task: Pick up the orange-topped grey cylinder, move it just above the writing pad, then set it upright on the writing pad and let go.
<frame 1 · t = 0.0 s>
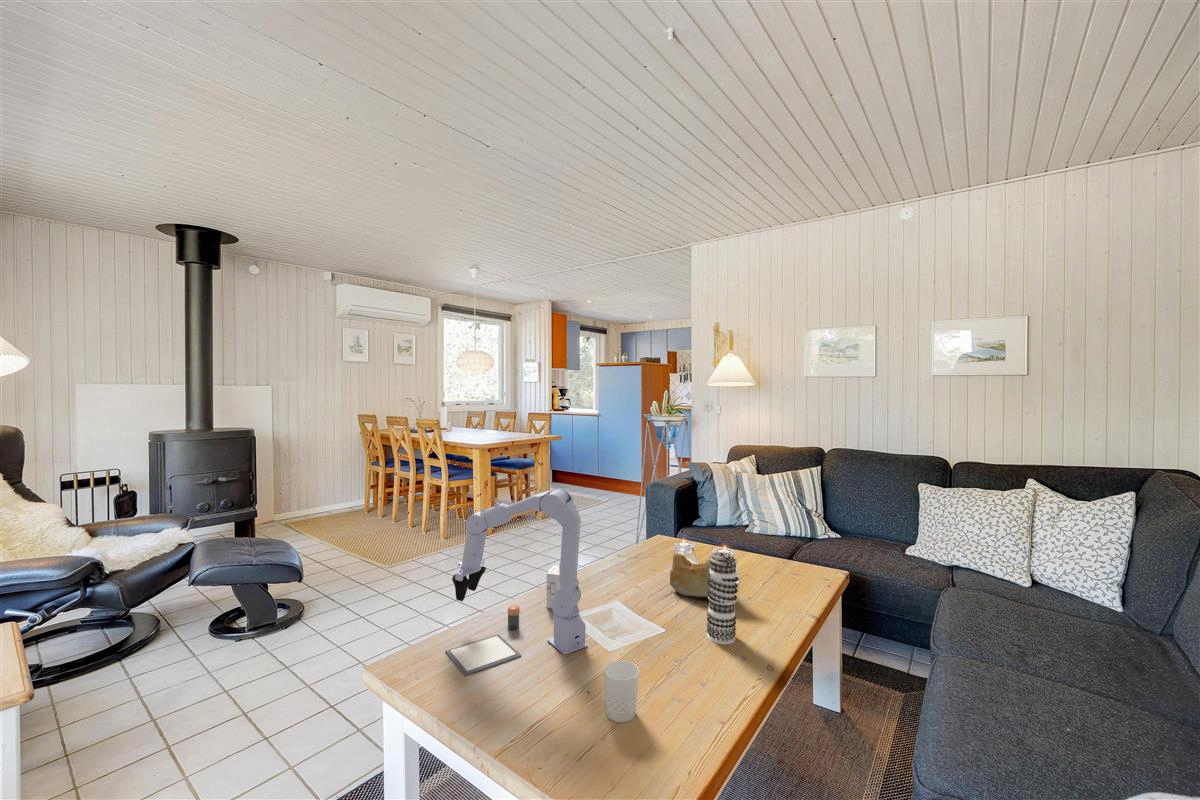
hand: (465, 594, 149), 11 cm above the table, tool pointing down, fingers open, 7 cm apart
rough brown rock: (705, 594, 180), on the table
white cup: (620, 713, 112), on the table
ink cartridge box: (556, 603, 169), on the table
decorative candle: (721, 637, 148), on the table
writing pad: (483, 654, 135), on the table
orange-topped grey cylinder: (513, 627, 151), on the table
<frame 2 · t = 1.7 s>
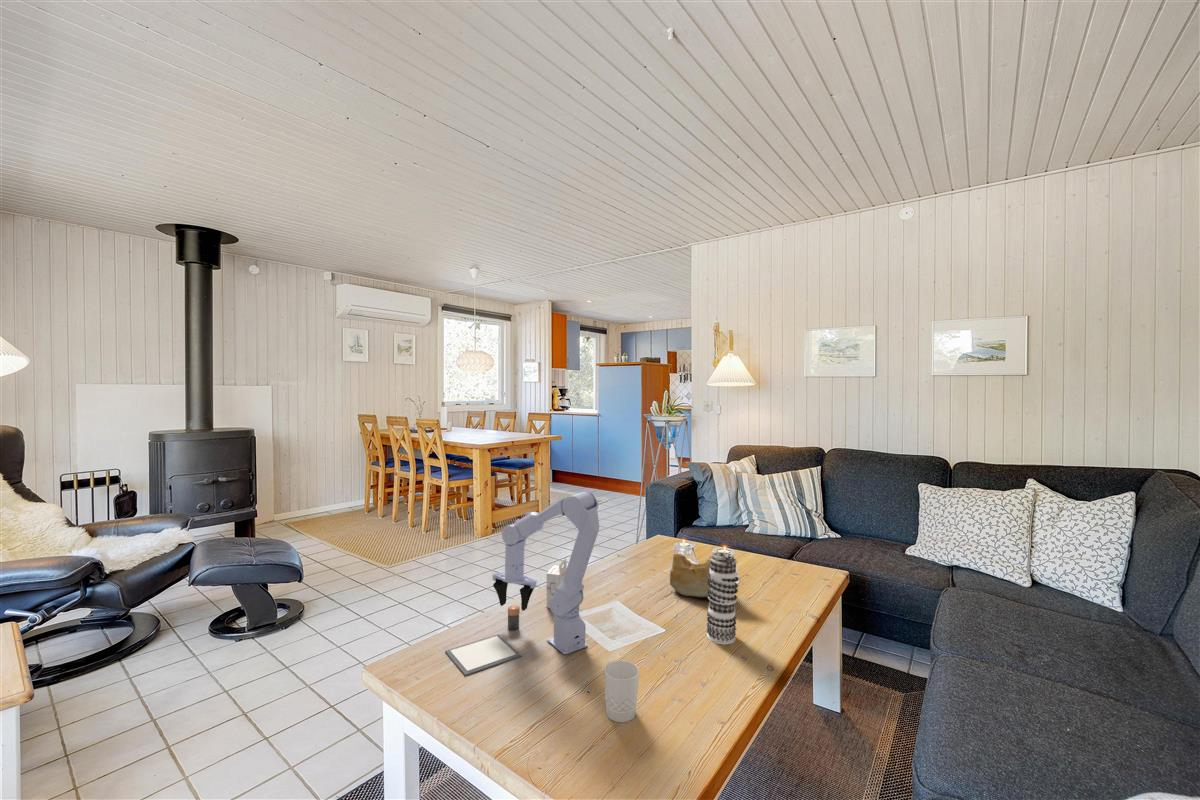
hand: (513, 606, 151), 6 cm above the table, tool pointing down, fingers open, 7 cm apart
nothing on the table moved.
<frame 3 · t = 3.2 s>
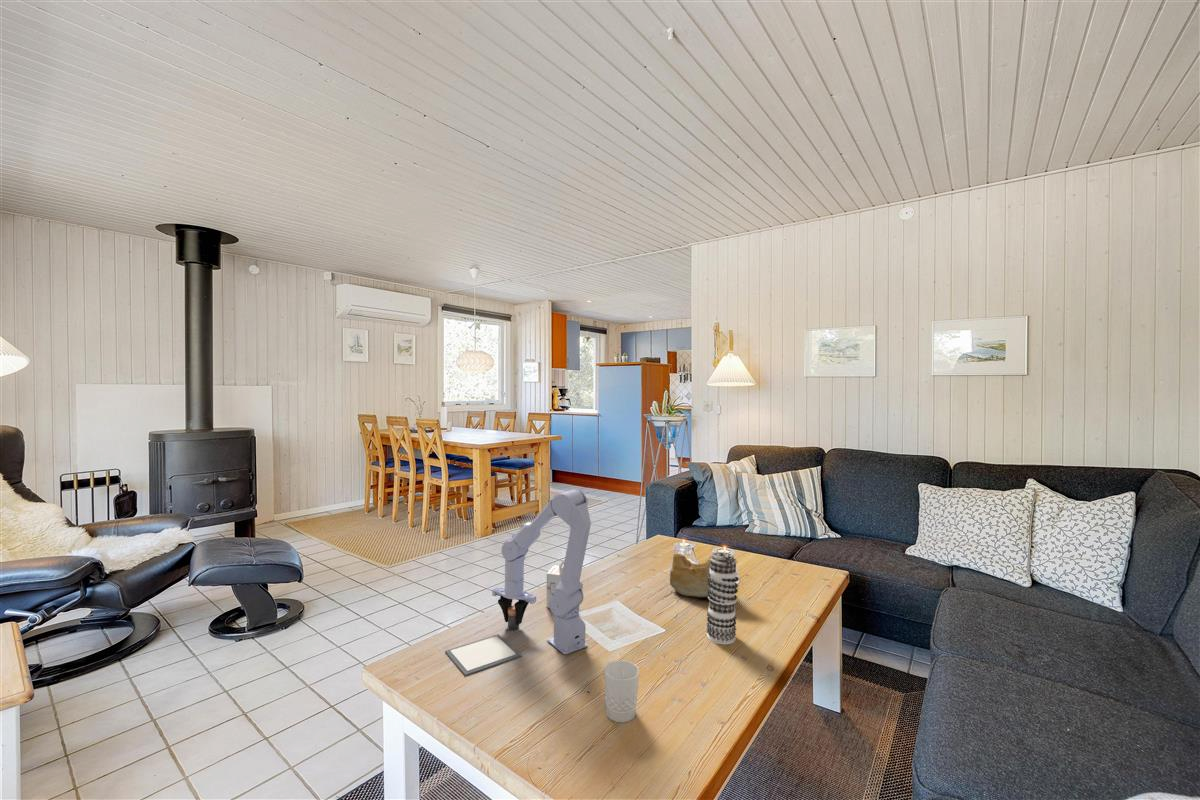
hand: (513, 622, 151), 2 cm above the table, tool pointing down, fingers closed on orange-topped grey cylinder, 3 cm apart
orange-topped grey cylinder: (513, 627, 151), on the table, touching gripper
everything else where it was.
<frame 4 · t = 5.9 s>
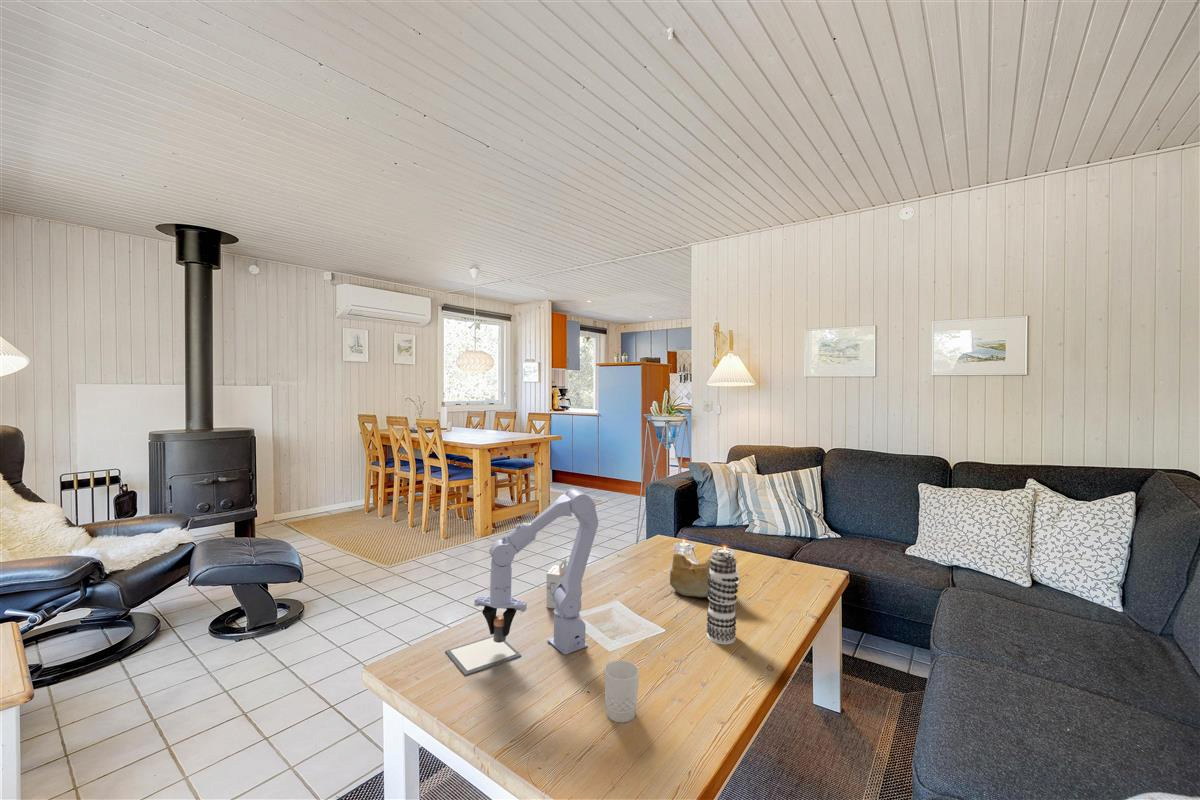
hand: (499, 633, 136), 5 cm above the table, tool pointing down, fingers closed on orange-topped grey cylinder, 3 cm apart
orange-topped grey cylinder: (499, 639, 136), point 4 cm above the table, touching gripper
everything else where it was.
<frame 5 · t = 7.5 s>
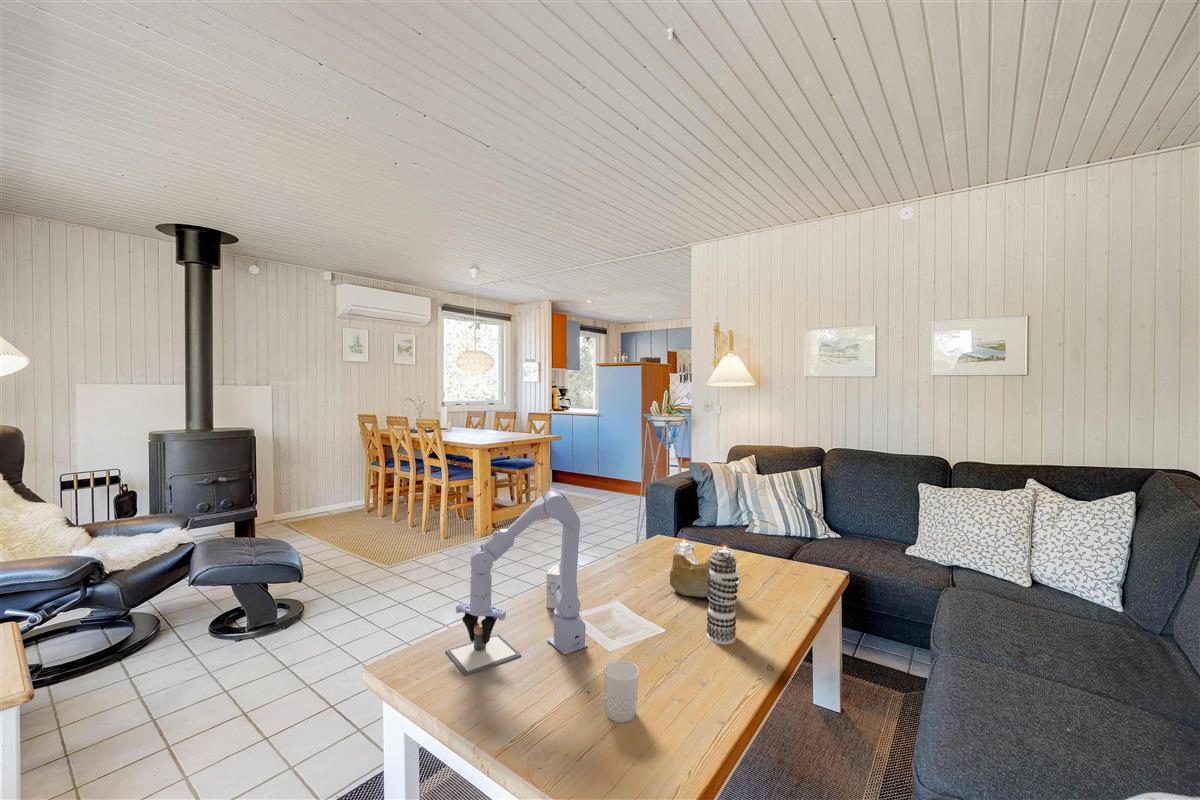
hand: (479, 641, 137), 3 cm above the table, tool pointing down, fingers closed on orange-topped grey cylinder, 3 cm apart
orange-topped grey cylinder: (479, 646, 137), point 1 cm above the table, touching gripper
everything else where it was.
when the fingers open (3 cm above the table, at t = 8.7 s): orange-topped grey cylinder stays where it is, resting on writing pad.
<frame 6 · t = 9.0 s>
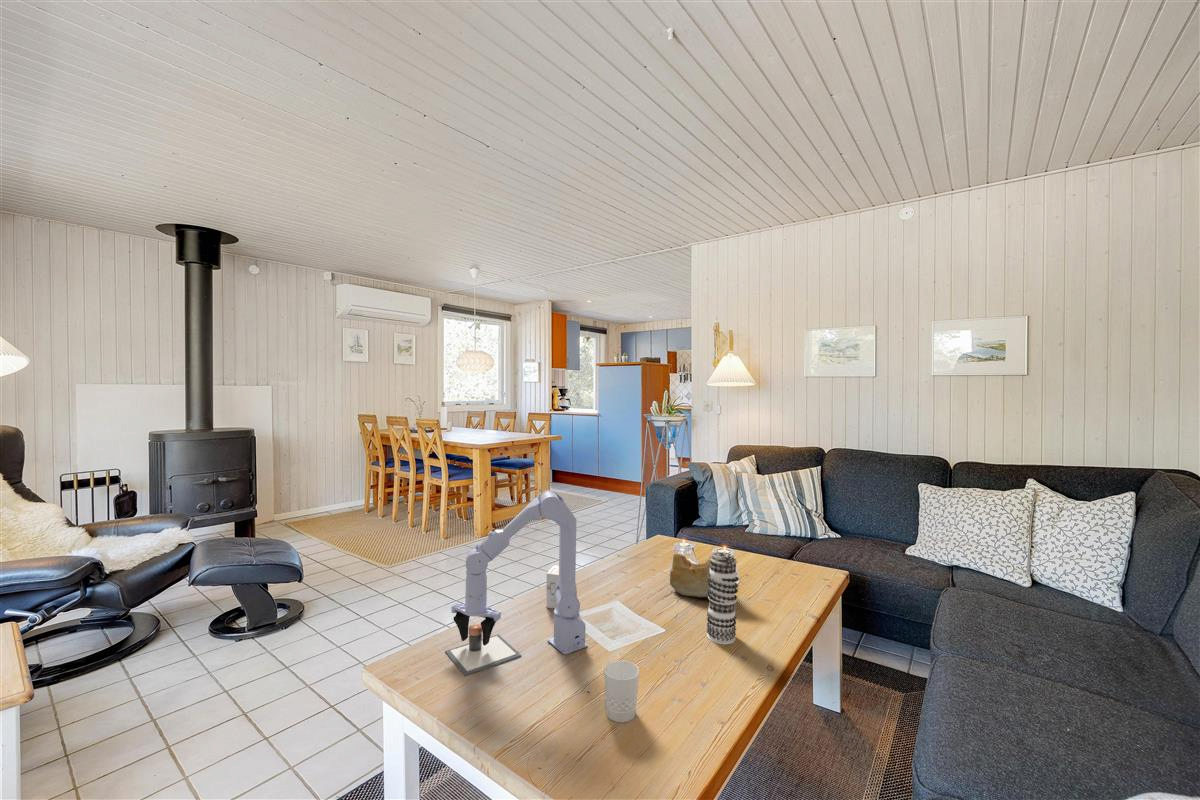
hand: (475, 641, 137), 3 cm above the table, tool pointing down, fingers open, 6 cm apart
orange-topped grey cylinder: (475, 648, 137), point 1 cm above the table, touching writing pad
everything else where it was.
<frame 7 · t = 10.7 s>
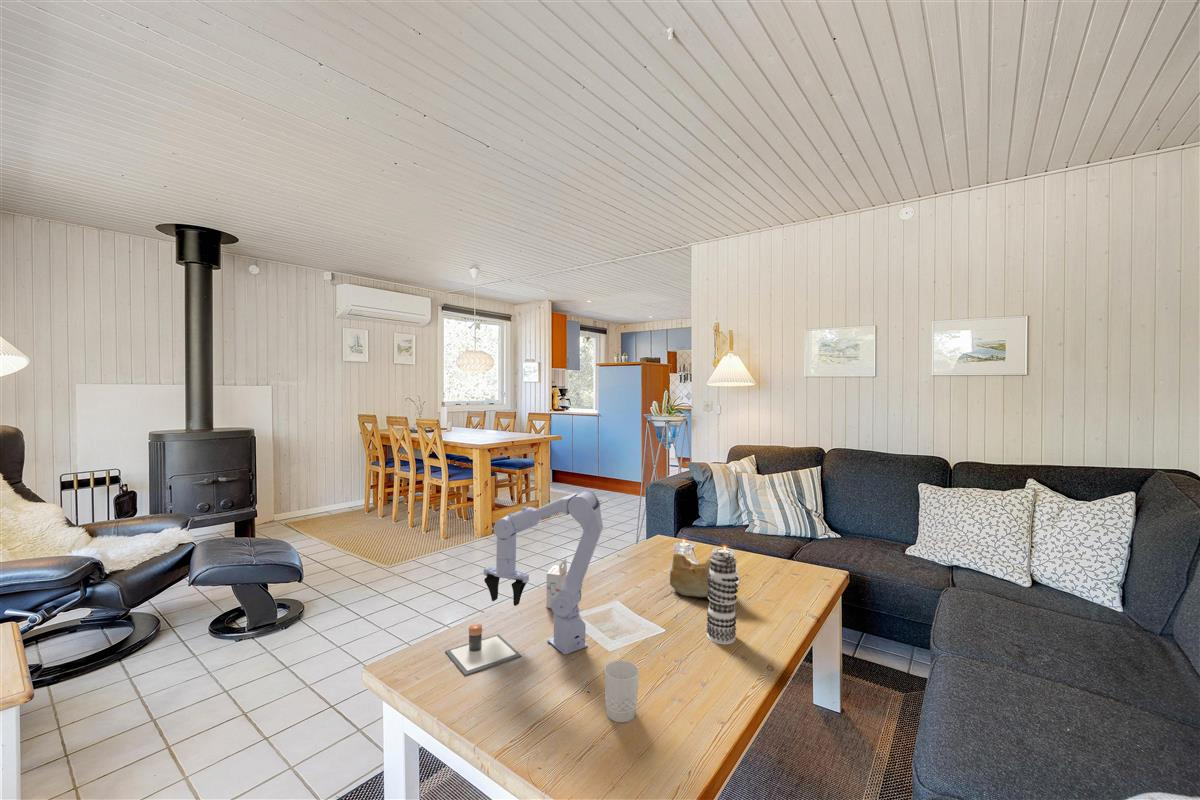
hand: (505, 602, 147), 9 cm above the table, tool pointing down, fingers open, 7 cm apart
nothing on the table moved.
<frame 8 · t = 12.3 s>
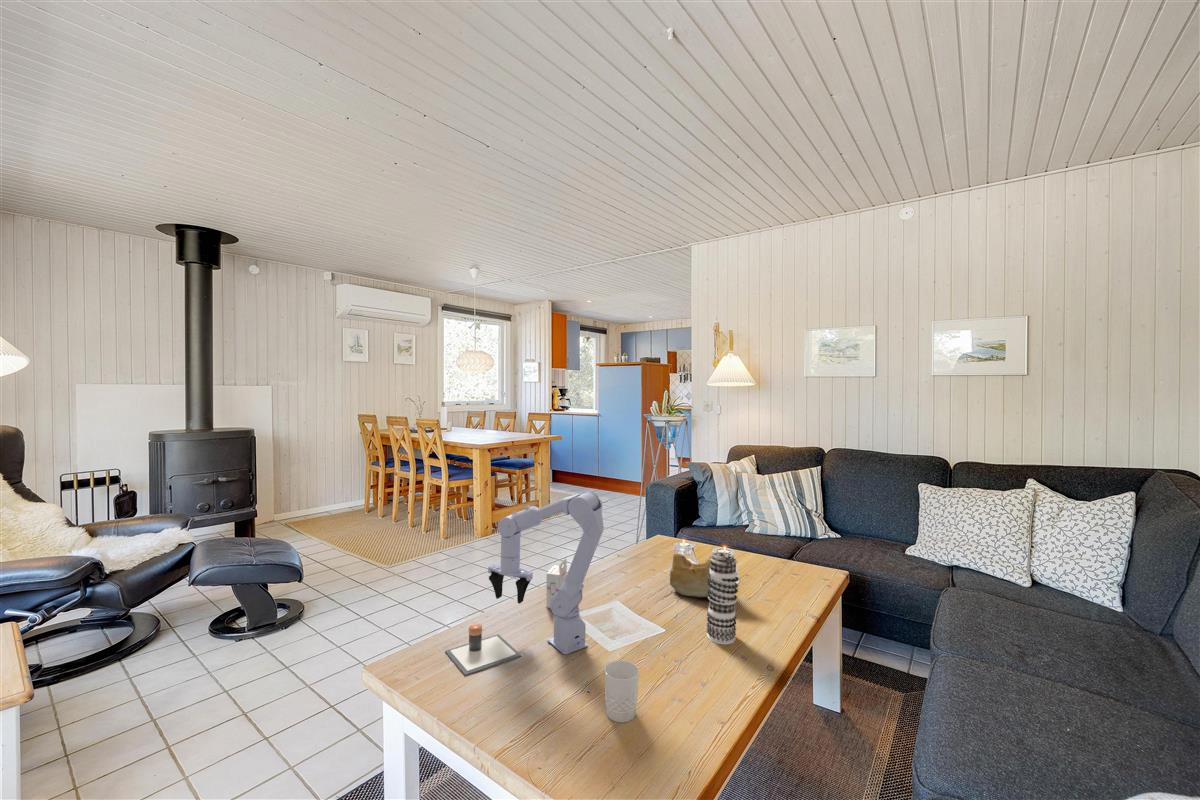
hand: (509, 599, 149), 9 cm above the table, tool pointing down, fingers open, 7 cm apart
nothing on the table moved.
at the end: orange-topped grey cylinder inside the target area on the writing pad (3.2 cm from its centre), point 0.6 cm above the writing pad's base; orange-topped grey cylinder tilted 0°; the gripper is holding nothing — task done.
